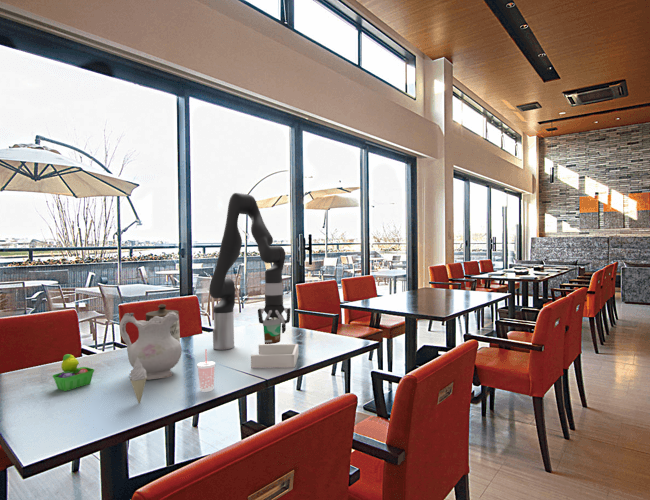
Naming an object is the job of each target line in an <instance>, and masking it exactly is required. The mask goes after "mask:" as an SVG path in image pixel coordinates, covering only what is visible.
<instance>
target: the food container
mask: <svg viewBox="0 0 650 500" xmlns="http://www.w3.org/2000/svg"><path fill="white" fill-rule="evenodd" d="M262 326H263V335H264V336H263V337H264V338H263V339H264V344H279V343H280V342H281V334H282V322H281V320H280V319H279V317H278V318H275V317H273V318H269V319H268V320H265V319H263V324H262Z"/></svg>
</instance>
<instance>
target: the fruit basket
mask: <svg viewBox="0 0 650 500" xmlns="http://www.w3.org/2000/svg"><path fill="white" fill-rule="evenodd" d="M78 365H80V363H79V360H78V358H76V357H75V356H74V355H72V354H69V353H67V354H64V355H63V357H62V362H61V370H62V372H59V373H55V374H52V378H53V380H54V382H55V385H56V388H57V390H61V391H64V392H67V390H68V391H70V390H74V389H77V388H81V387H84V386H87V385H90V384H92V379H93V375H94V372H95V369H94V368H91V367H88V366H81V367H78ZM80 386H81V387H80ZM76 387H77V388H76ZM73 388H74V389H73Z"/></svg>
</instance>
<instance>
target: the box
mask: <svg viewBox="0 0 650 500" xmlns="http://www.w3.org/2000/svg"><path fill="white" fill-rule="evenodd" d="M299 353H300V352H299V344H298V343H287V344H286V343H274V344H265V343H264V344H261V343H259V344H258V354H251V355H250V368H251V369H268V368H269V369H270V368H271V369H272V368H273V369H274V368H275V369H277V368H280V369H281V368H283V369H284V368H285V369H286V368H296V367H295V366H296V364H297V362H298V358H299V356H300V355H299Z"/></svg>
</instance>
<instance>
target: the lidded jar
mask: <svg viewBox="0 0 650 500" xmlns="http://www.w3.org/2000/svg"><path fill="white" fill-rule="evenodd" d="M157 309H158V310H154V311H149V312H146V313H145V321H149V320H150V319H152V318H153V317H155V316H159V317H164V316H166V315H167V314H168V313H169V312H175V313H176V314H178V316H179V317H180V313H179V310H176V309H167V305H166V304H165V303H164V304H163V303H161V304H159V305H158V306H157ZM170 333H171V335H172V337H174V338H175V339H176V340H178V341H179V342H180V343H181V338H180V337H181V334H180V319H179V320H178V321H176V322H174V323H173V324H172V326H171V328H170Z"/></svg>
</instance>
